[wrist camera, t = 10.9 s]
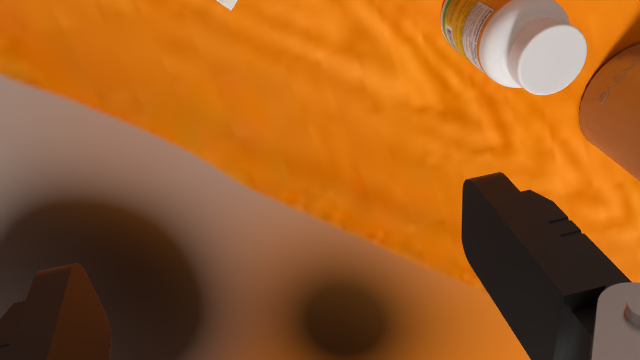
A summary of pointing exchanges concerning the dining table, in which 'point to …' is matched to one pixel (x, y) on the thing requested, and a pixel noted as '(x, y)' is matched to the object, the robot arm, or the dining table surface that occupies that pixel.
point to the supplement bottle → (516, 41)
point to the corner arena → (228, 3)
